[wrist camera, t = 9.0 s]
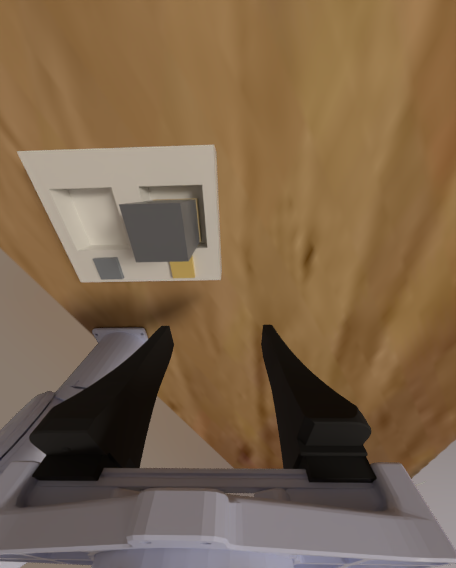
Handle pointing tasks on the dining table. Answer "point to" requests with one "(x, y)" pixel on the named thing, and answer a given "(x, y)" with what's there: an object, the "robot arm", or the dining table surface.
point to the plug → (163, 229)
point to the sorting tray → (120, 190)
